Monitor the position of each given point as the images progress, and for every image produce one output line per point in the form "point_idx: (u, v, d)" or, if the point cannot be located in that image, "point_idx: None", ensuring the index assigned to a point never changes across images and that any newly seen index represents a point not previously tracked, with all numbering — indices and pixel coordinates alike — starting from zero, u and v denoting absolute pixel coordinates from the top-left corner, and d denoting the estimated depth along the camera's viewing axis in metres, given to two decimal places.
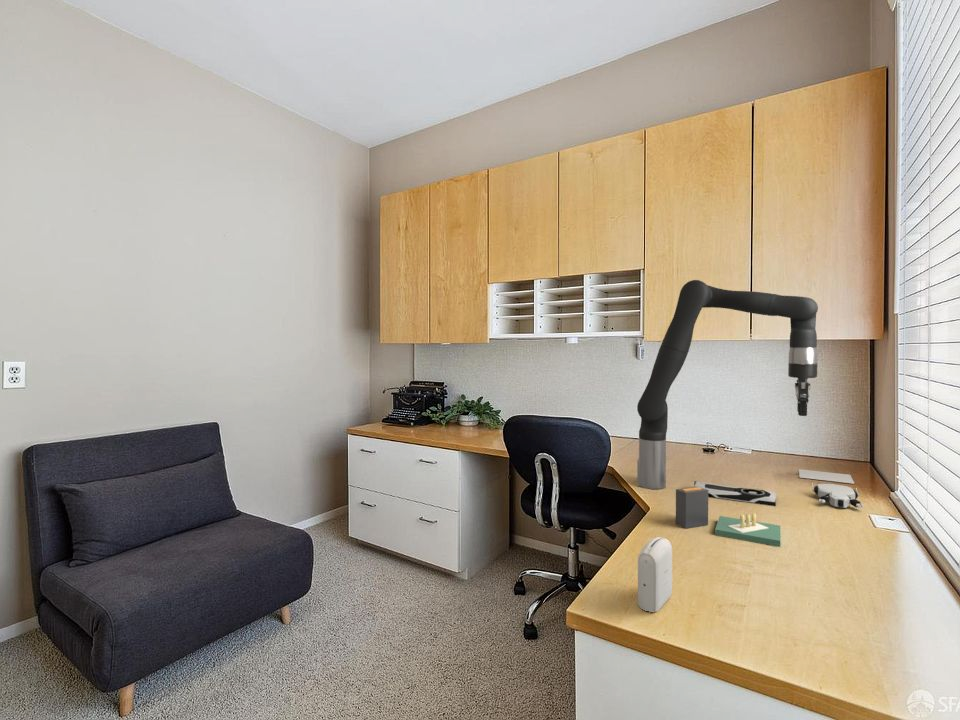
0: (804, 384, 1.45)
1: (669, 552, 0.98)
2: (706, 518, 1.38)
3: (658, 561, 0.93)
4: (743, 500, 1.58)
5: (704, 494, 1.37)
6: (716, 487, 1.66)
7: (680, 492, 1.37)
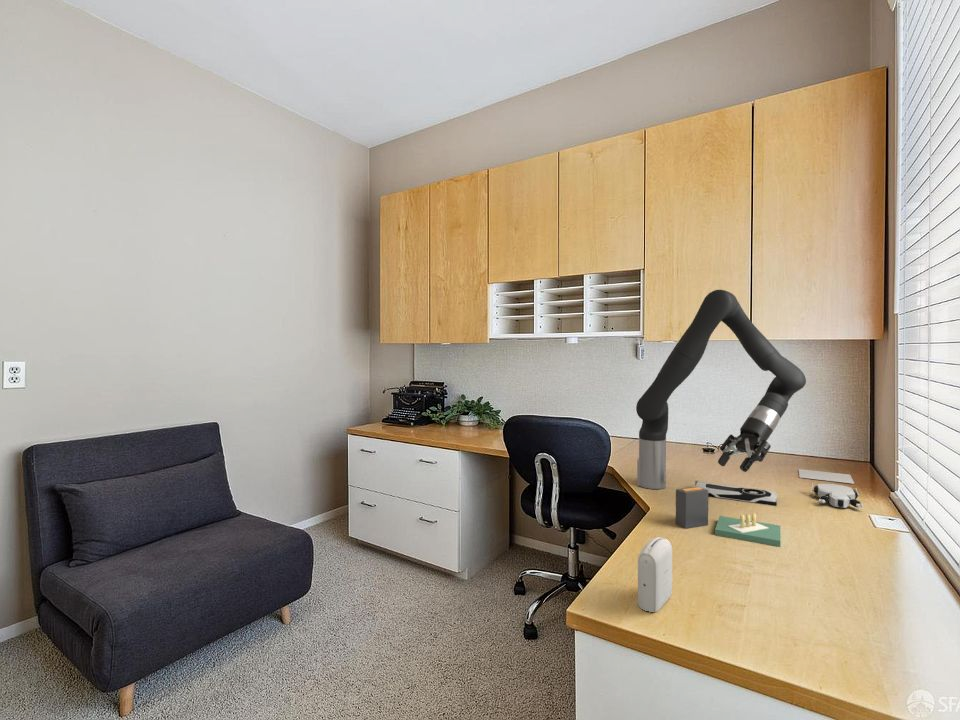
0: (768, 445, 1.37)
1: (669, 552, 0.98)
2: (706, 518, 1.38)
3: (658, 561, 0.93)
4: (744, 500, 1.58)
5: (704, 494, 1.37)
6: (717, 487, 1.67)
7: (680, 492, 1.37)
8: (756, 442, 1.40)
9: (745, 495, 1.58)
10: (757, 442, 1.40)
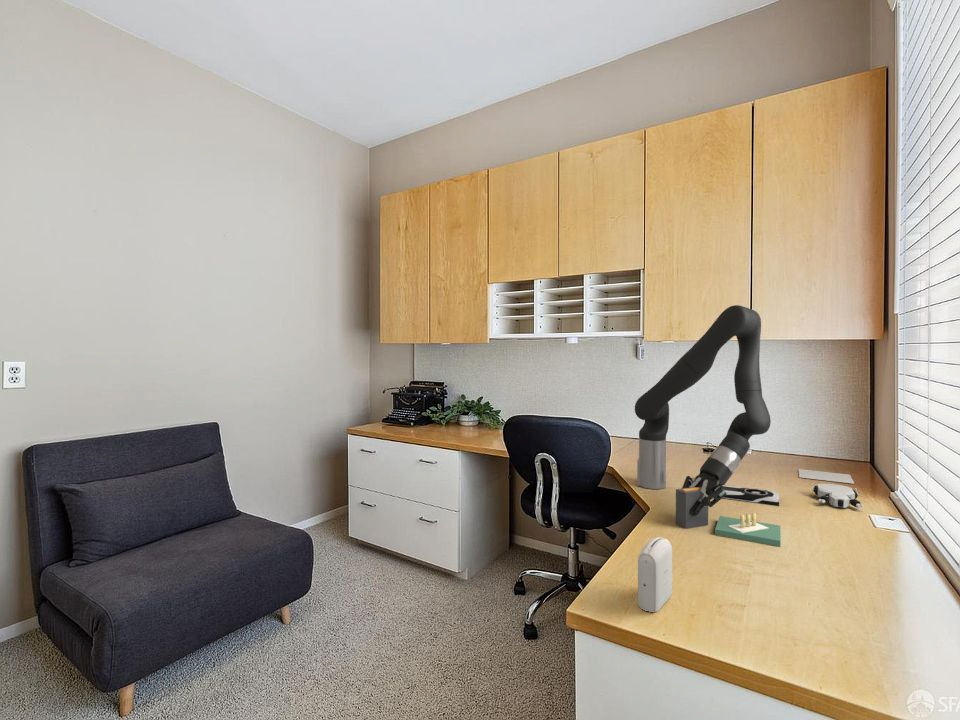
0: (723, 493, 1.33)
1: (669, 552, 0.98)
2: (706, 518, 1.38)
3: (658, 561, 0.93)
4: (746, 500, 1.58)
5: None
6: None
7: (680, 492, 1.37)
8: (714, 486, 1.36)
9: (747, 495, 1.58)
10: (715, 486, 1.36)
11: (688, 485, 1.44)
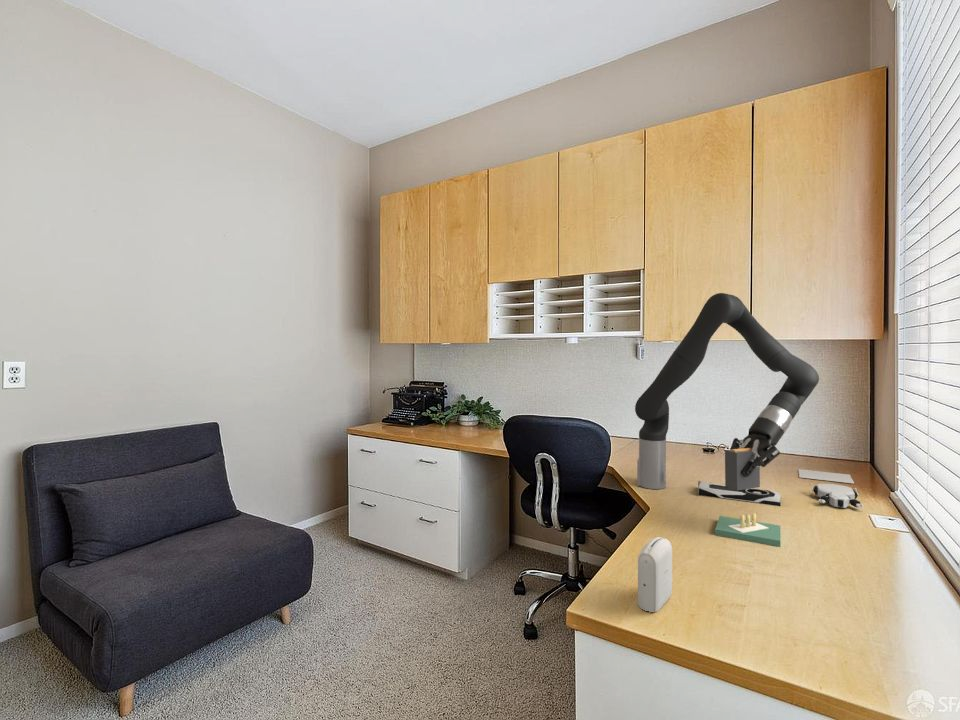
0: (777, 452, 1.27)
1: (669, 552, 0.98)
2: (758, 480, 1.31)
3: (658, 561, 0.93)
4: (748, 500, 1.57)
5: None
6: (720, 487, 1.66)
7: (730, 452, 1.31)
8: (766, 445, 1.30)
9: (749, 495, 1.58)
10: (767, 445, 1.29)
11: (736, 447, 1.37)
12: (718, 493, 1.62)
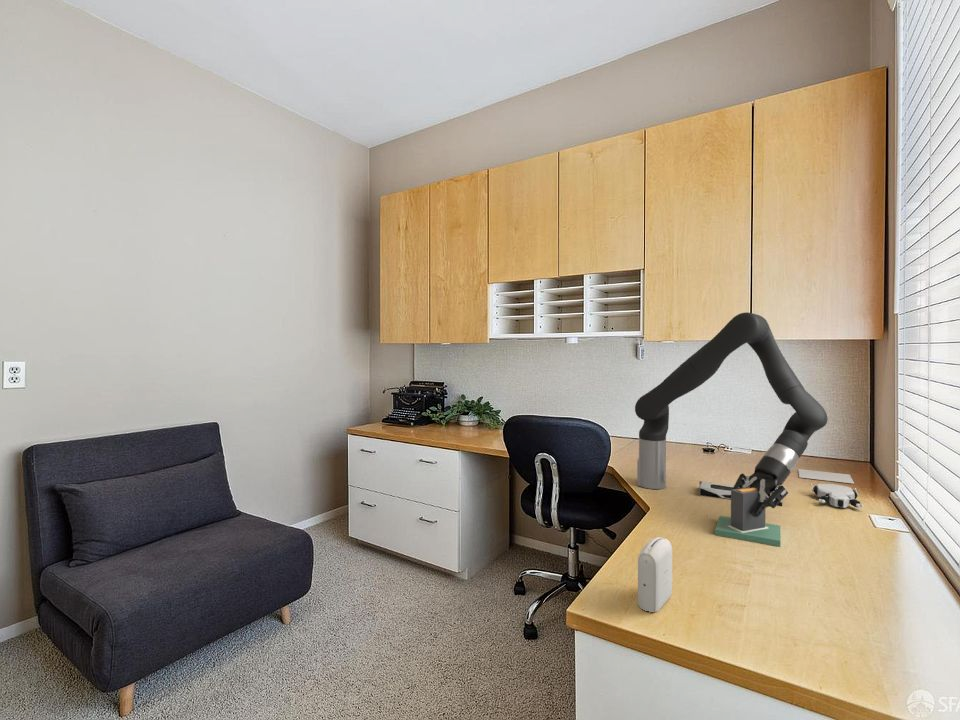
0: (785, 491, 1.27)
1: (669, 552, 0.98)
2: (763, 520, 1.31)
3: (658, 561, 0.93)
4: None
5: None
6: (722, 487, 1.66)
7: (736, 493, 1.31)
8: (773, 485, 1.29)
9: None
10: (774, 485, 1.29)
11: (741, 483, 1.38)
12: (719, 493, 1.62)
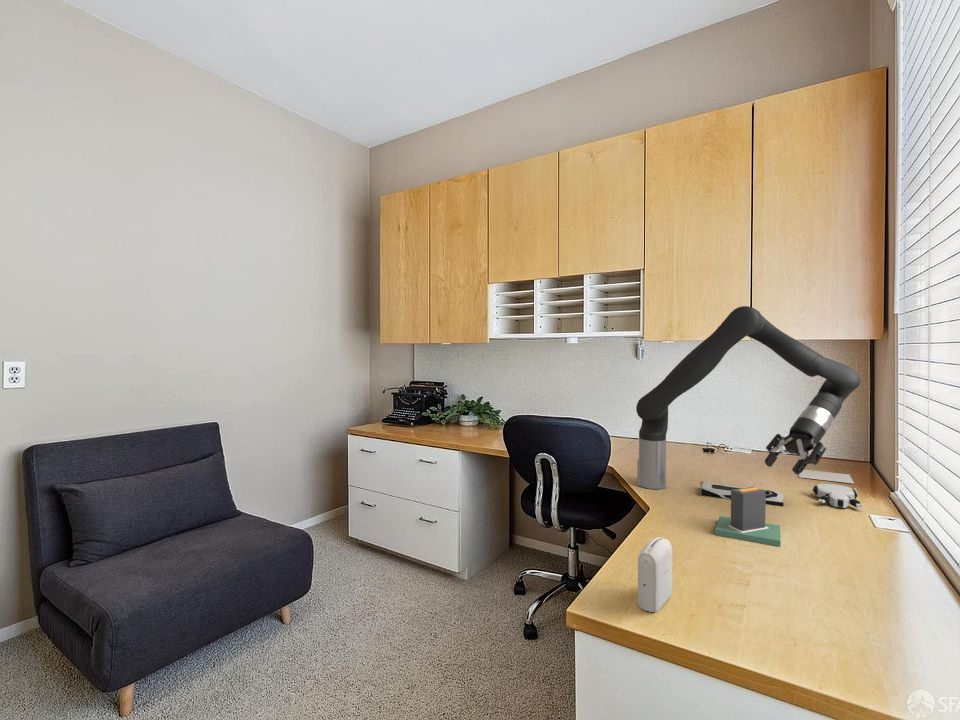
0: (823, 447, 1.31)
1: (669, 552, 0.98)
2: (763, 520, 1.31)
3: (658, 561, 0.93)
4: None
5: (762, 495, 1.31)
6: (723, 487, 1.66)
7: (736, 493, 1.31)
8: (810, 444, 1.33)
9: None
10: (811, 444, 1.33)
11: (775, 443, 1.42)
12: (721, 493, 1.62)
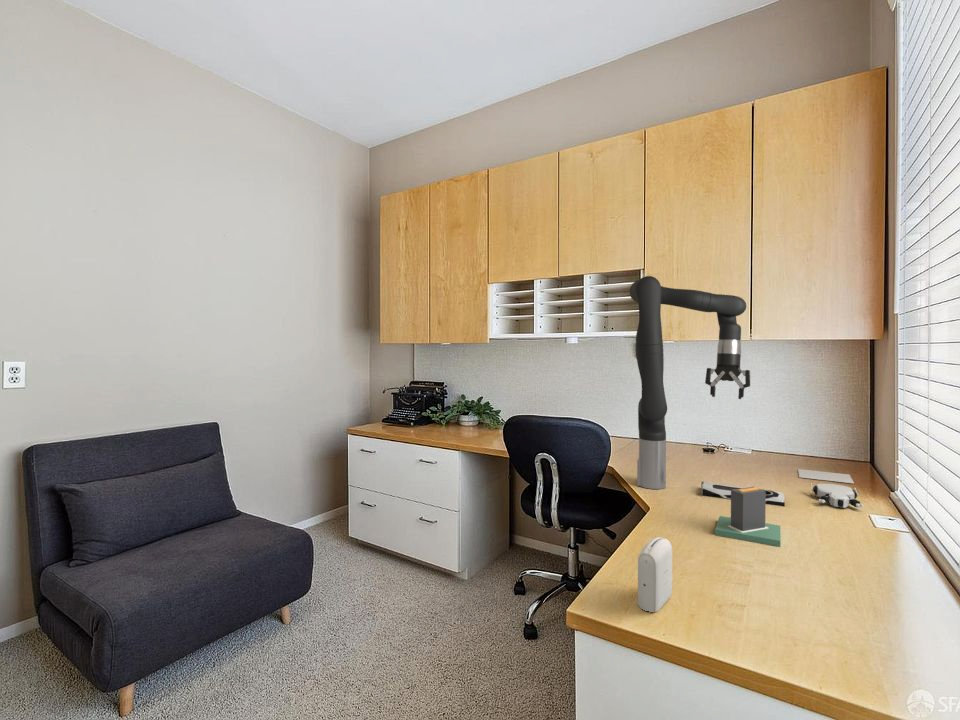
0: (749, 371, 1.70)
1: (669, 552, 0.98)
2: (763, 520, 1.31)
3: (658, 561, 0.93)
4: None
5: (762, 495, 1.31)
6: (724, 487, 1.66)
7: (736, 493, 1.31)
8: (739, 372, 1.71)
9: None
10: (740, 372, 1.71)
11: (709, 376, 1.77)
12: (722, 493, 1.61)
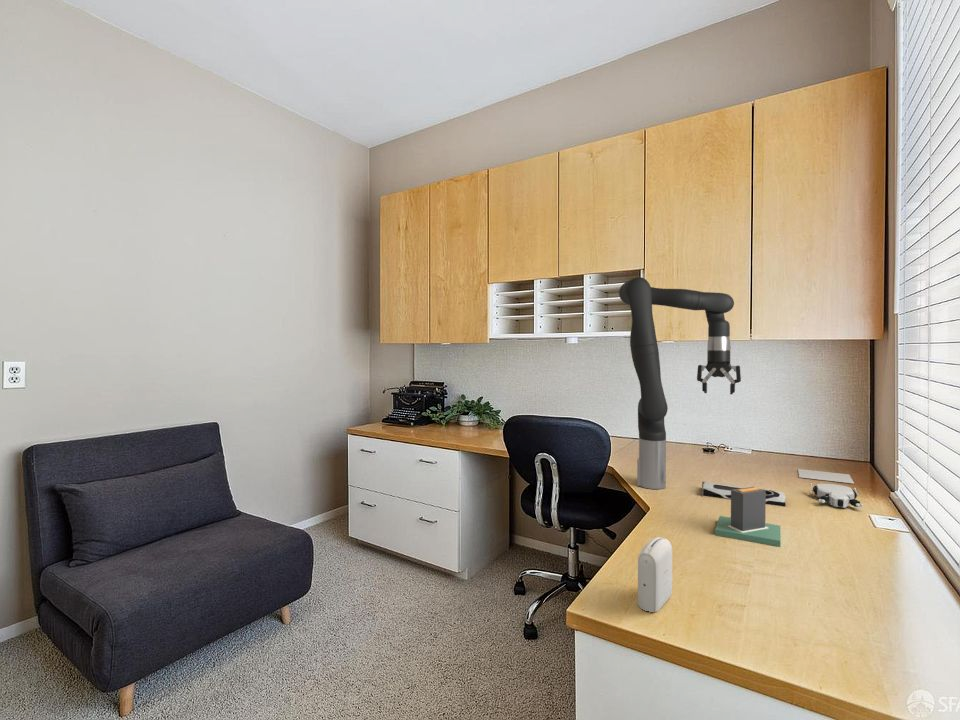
0: (739, 367, 1.74)
1: (669, 552, 0.98)
2: (763, 520, 1.31)
3: (658, 561, 0.93)
4: None
5: (762, 495, 1.31)
6: (724, 487, 1.66)
7: (736, 493, 1.31)
8: (730, 368, 1.74)
9: None
10: (730, 368, 1.74)
11: (701, 373, 1.80)
12: (723, 493, 1.61)
